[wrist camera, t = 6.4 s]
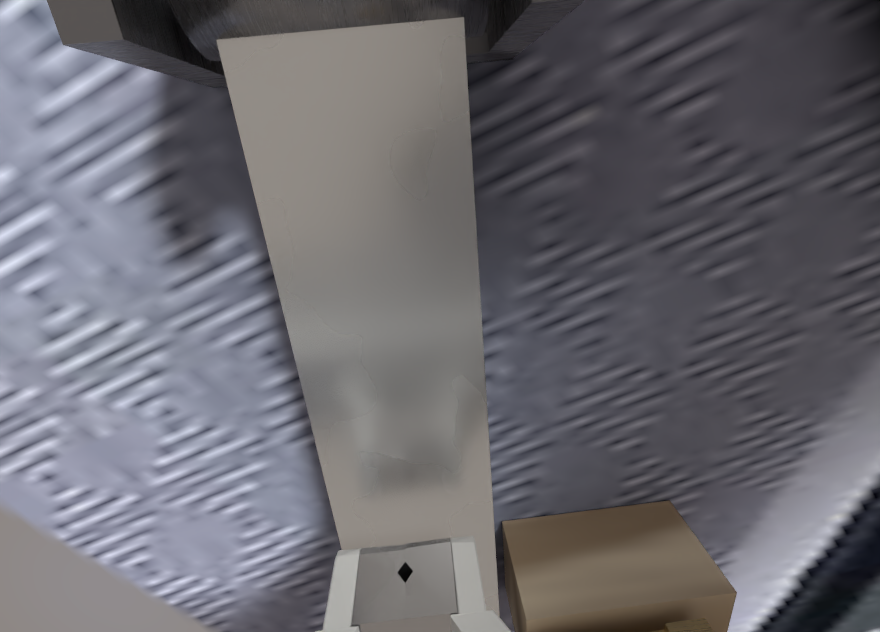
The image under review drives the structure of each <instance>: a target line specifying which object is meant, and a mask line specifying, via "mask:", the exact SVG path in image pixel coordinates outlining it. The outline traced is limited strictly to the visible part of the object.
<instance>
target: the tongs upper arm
mask: <svg viewBox="0 0 880 632" xmlns="http://www.w3.org/2000/svg"><path fill="white" fill-rule="evenodd" d="M168 2H169V5H170V7H171V9H172V11H173V13H174V15H175V17H176V18H177V20H178V22H179V24H180V26H181V27H182V29H183V31H184V32H185V34H186V35H187V37H188V38H189V40H190V41H191V43H192V44H193V45H194V47H195V48H196V49H197V50H198V51H199V52H200V53H201V54H202V55H203V56H204V57H205V58H207V59H209V60H211V61H221V62H222V66H223V70H224V74H225V78H226V82H227V86H228V90H229V94H230V98H231V102H232V106H233V110H234V114H235V118H236V123H237V127H238V131H239V135H240V139H241V143H242V147H243V151H244V155H245V159H246V163H247V167H248V171H249V175H250V179H251V183H252V188H253V192H254V196H255V200H256V204H257V208H258V212H259V216H260V220H261V224H262V228H263V232H264V236H265V240H266V244H267V249H268V253H269V257H270V261H271V265H272V269H273V273H274V277H275V281H276V285H277V289H278V293H279V297H280V301H281V305H282V309H283V314H284V318H285V322H286V326H287V330H288V334H289V338H290V342H291V346H292V350H293V354H294V358H295V362H296V366H297V370H298V374H299V379H300V383H301V387H302V391H303V395H304V399H305V403H306V407H307V411H308V415H309V419H310V423H311V427H312V431H313V435H314V439H315V444H316V448H317V452H318V456H319V460H320V464H321V468H322V472H323V476H324V480H325V484H326V488H327V492H328V496H329V500H330V505H331V509H332V513H333V517H334V521H335V525H336V529H337V533H338V537H339V541H340V545H341V549H342V550H349V549H359V548H369V547H381V546H393V545H405V544H406V543H413V542H421V541H429V540H436V539H444V538H450V541H451V538H457V537H465V536H473V537H474V539H475V544H476V550H477V556H478V562H479V568H480V574H481V581H482V587H483V593H484V599H485V605H486V610H494V611H495V612H496V614H497V615H498V616H499V617H500V615H499V598H498V581H497V564H496V548H495V531H494V514H493V497H492V481H491V464H490V447H489V430H488V414H487V397H486V380H485V363H484V347H483V330H482V313H481V296H480V280H479V263H478V246H477V229H476V213H475V196H474V179H473V162H472V146H471V129H470V112H469V96H468V79H467V62H466V45H465V38H471V37H481V36H482V35H483V34H484V31H485V28H486V24H487V19H488V12H489V4H490V0H168ZM451 549H452V548H451ZM452 559H453V558H452ZM453 569H454V568H453Z"/></svg>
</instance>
